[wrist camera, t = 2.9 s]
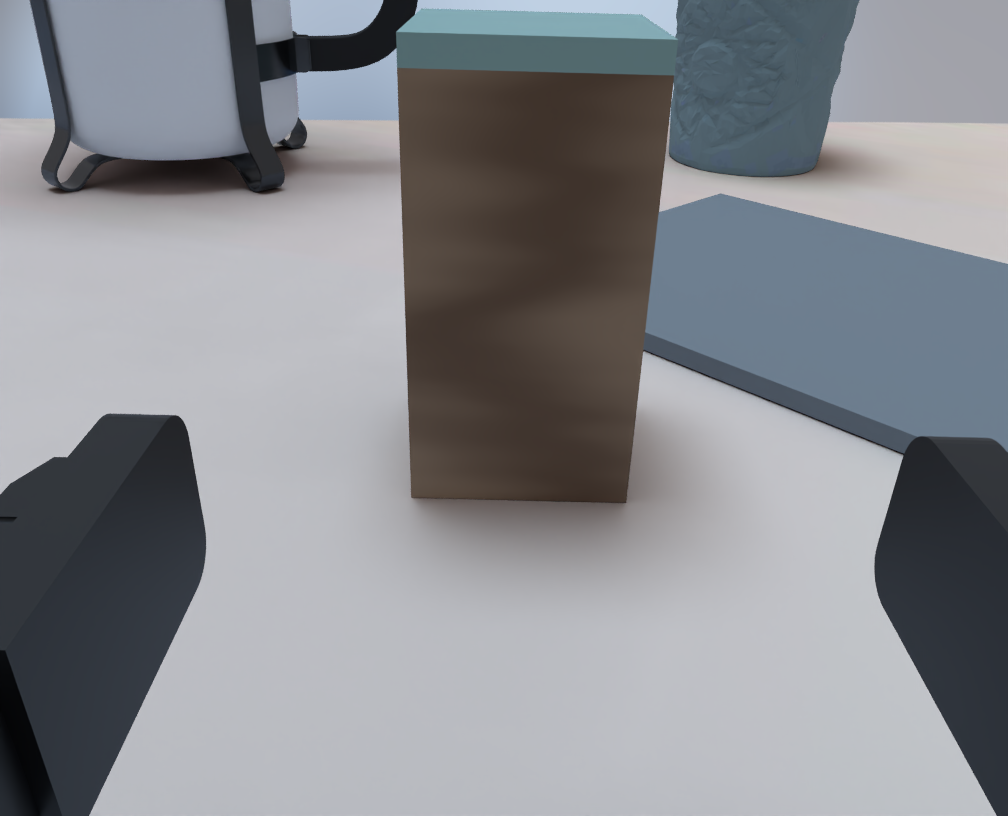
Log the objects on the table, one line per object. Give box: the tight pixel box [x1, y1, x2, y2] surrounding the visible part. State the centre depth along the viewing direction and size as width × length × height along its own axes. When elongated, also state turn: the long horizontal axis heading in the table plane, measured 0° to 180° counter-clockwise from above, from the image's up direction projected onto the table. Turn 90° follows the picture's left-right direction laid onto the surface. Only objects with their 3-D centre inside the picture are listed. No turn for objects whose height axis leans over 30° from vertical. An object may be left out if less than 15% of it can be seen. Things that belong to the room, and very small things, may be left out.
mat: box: [643, 194, 1008, 454], centre depth 31 cm, size 20×16×1 cm
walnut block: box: [396, 9, 678, 503], centre depth 20 cm, size 5×5×10 cm
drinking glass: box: [669, 0, 859, 177], centre depth 49 cm, size 10×10×12 cm
